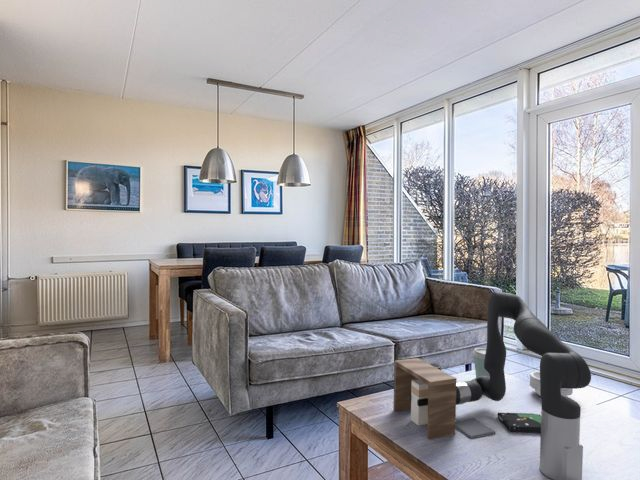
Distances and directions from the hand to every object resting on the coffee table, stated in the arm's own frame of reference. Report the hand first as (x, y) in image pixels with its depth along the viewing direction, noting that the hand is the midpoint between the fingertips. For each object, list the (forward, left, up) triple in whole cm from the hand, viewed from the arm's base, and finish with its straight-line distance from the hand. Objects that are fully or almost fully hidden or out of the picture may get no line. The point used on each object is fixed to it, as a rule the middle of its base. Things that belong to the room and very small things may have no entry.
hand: (413, 400), depth 140 cm
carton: (0, -3, -8) cm, 8 cm away
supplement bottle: (+18, -22, -8) cm, 29 cm away
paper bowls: (+2, -67, -8) cm, 67 cm away
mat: (-10, -17, -8) cm, 21 cm away
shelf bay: (0, -4, -8) cm, 9 cm away
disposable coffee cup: (+20, -50, -8) cm, 54 cm away
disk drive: (-14, -36, -9) cm, 39 cm away
